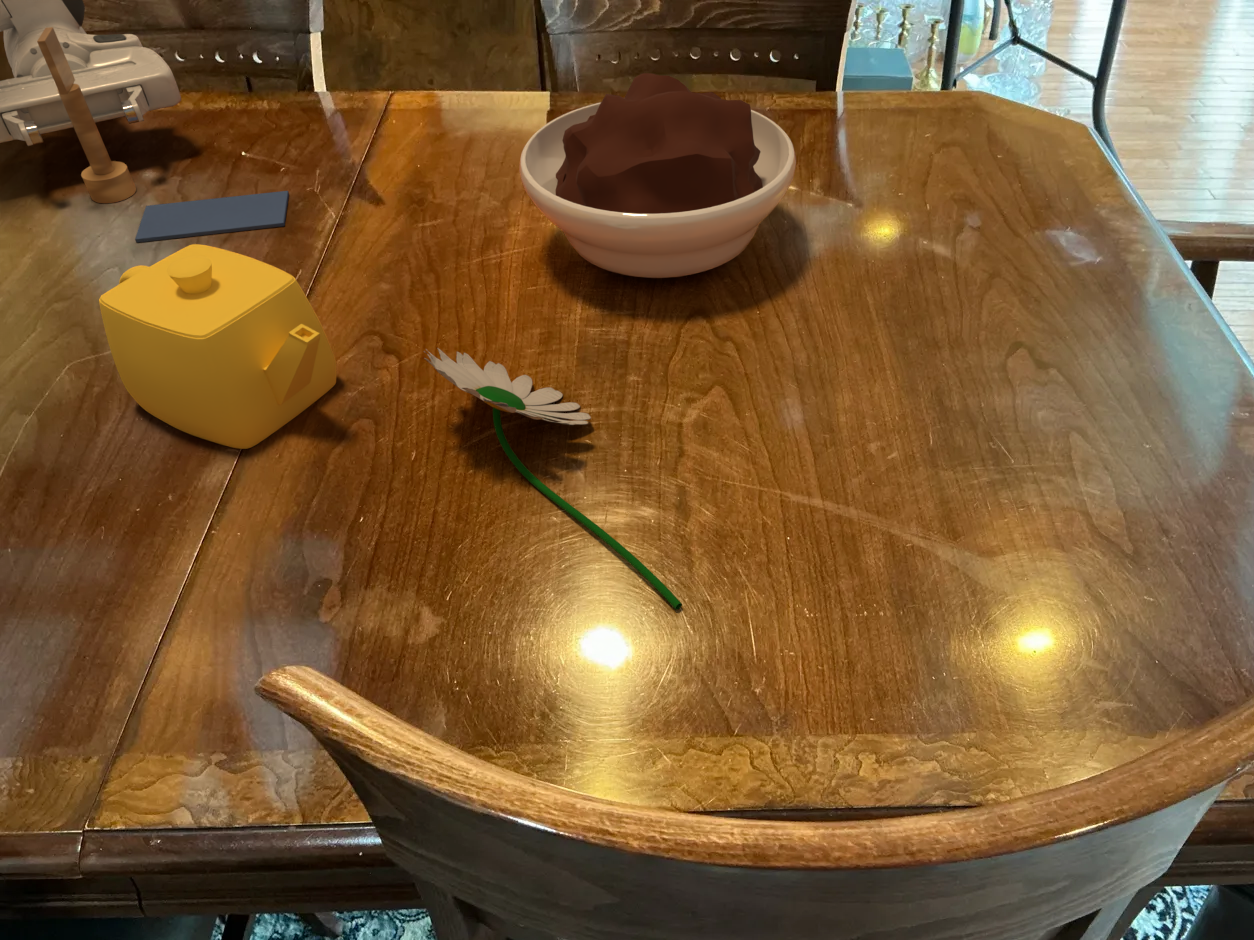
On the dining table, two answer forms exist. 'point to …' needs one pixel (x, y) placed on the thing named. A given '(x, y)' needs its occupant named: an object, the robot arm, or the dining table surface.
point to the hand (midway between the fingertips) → (83, 125)
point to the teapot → (217, 344)
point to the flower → (518, 398)
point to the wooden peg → (86, 129)
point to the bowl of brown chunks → (658, 177)
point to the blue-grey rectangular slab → (213, 216)
